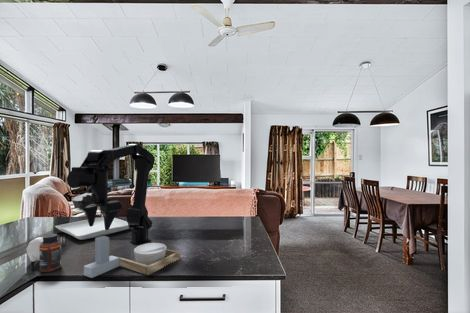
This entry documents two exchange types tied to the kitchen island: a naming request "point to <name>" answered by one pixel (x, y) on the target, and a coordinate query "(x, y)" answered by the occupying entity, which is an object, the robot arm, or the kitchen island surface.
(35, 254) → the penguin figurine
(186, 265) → the kitchen island surface
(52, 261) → the supplement bottle
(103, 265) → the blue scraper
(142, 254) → the ramekin
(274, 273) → the kitchen island surface
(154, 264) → the oak corral
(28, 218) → the kitchen island surface
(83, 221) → the square plate
